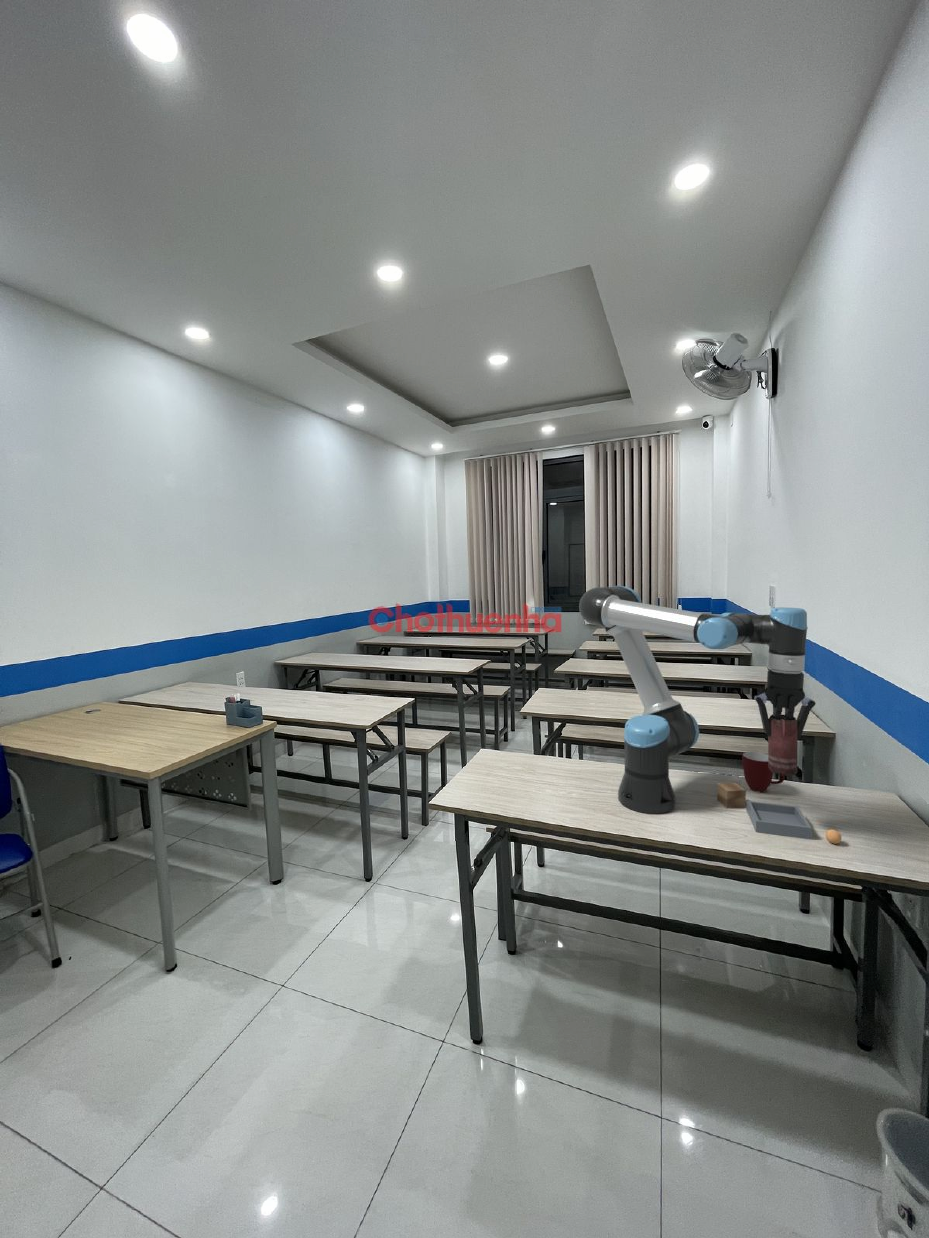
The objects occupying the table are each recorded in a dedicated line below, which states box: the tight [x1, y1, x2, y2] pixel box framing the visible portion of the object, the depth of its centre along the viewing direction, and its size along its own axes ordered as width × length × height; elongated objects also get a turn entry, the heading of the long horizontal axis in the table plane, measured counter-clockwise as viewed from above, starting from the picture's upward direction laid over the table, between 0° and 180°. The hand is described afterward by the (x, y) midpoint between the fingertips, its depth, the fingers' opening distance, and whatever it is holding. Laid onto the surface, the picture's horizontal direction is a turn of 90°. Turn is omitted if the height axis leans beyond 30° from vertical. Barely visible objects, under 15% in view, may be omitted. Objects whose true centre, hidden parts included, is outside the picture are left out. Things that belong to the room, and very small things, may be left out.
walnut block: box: [716, 782, 747, 809], centre depth 135 cm, size 5×5×5 cm
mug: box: [741, 751, 786, 793], centre depth 143 cm, size 10×8×10 cm
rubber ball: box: [825, 829, 843, 845], centre depth 114 cm, size 3×3×3 cm
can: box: [767, 713, 799, 777], centre depth 122 cm, size 6×6×14 cm
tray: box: [746, 800, 813, 840], centre depth 123 cm, size 12×12×3 cm
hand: (780, 762), depth 123 cm, fingers closed
